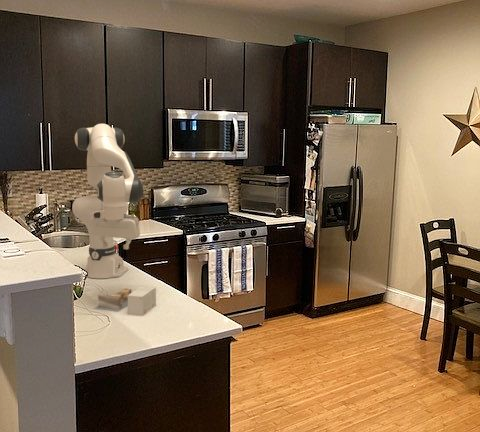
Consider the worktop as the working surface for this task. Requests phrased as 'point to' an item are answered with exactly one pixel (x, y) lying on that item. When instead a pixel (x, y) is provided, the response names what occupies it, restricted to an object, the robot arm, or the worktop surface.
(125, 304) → the mat
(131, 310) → the small box
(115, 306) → the wooden t-shaped stand
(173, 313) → the worktop surface
